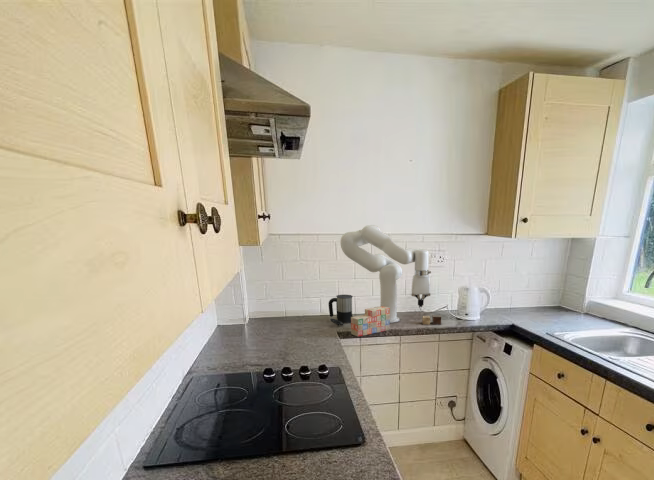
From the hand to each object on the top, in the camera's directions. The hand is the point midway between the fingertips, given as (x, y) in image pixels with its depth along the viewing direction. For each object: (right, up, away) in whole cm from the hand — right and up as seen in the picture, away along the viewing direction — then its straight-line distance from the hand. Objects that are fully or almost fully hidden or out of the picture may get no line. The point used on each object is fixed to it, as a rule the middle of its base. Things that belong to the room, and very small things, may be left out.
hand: (420, 306), depth 230 cm
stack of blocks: (-28, -16, -13) cm, 35 cm away
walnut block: (+9, -9, +4) cm, 14 cm away
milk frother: (-45, -9, +5) cm, 46 cm away
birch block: (+3, -9, +4) cm, 11 cm away
